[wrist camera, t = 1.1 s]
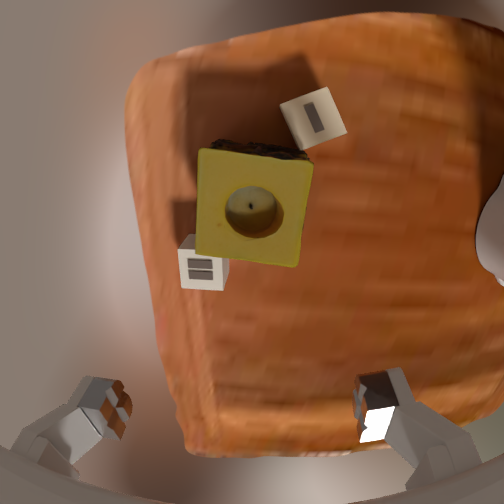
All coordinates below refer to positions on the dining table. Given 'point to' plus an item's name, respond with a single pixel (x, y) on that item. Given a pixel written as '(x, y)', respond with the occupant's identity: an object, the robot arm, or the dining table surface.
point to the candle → (251, 202)
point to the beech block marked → (313, 118)
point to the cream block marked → (201, 268)
